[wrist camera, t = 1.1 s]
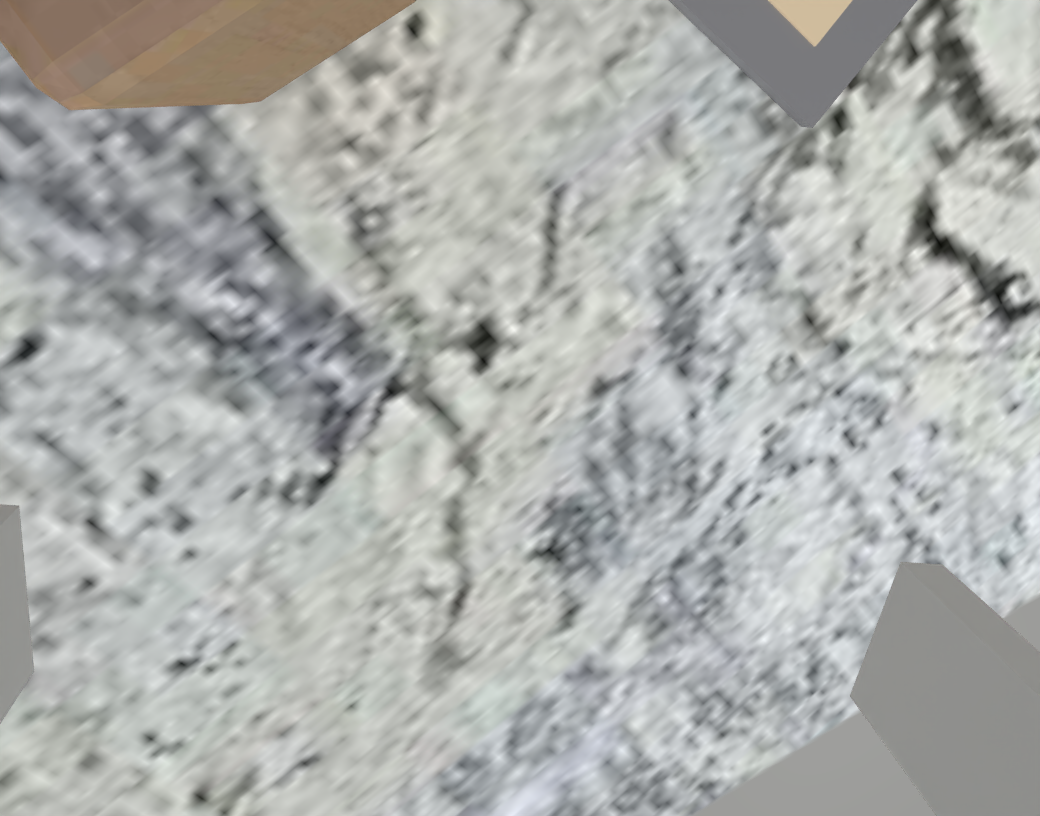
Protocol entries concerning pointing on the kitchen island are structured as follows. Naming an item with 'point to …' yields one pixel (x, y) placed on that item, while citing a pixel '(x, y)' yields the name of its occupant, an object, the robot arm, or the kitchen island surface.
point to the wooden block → (178, 46)
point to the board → (798, 44)
